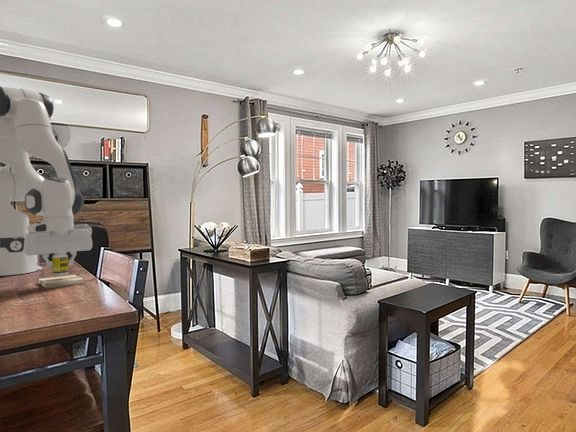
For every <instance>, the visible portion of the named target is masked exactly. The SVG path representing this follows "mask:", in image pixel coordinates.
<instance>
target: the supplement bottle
mask: <svg viewBox="0 0 576 432" xmlns="http://www.w3.org/2000/svg"><path fill="white" fill-rule="evenodd" d="M67 253H68V252H65V251H64V250H58V252H57V253H52V254H53V255H52V257H51V261H52V262H53V267H51V268H52V271H51V273H52V275H53V276H64V275H69V265H68V259H69V255H68V254H67Z"/></svg>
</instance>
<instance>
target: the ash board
mask: <svg viewBox="0 0 576 432" xmlns="http://www.w3.org/2000/svg"><path fill="white" fill-rule="evenodd" d="M37 280H38V281H37V282H38V284H39V285H40V286H42V287H44V288H45V289H46V290H47V289H54V288H61V287H67V286H74V285H75V286H77V285H82V284H81V283H83V284H85V281H84V280H85V279H84V278H82V277H80V276H78V275H76V274H74V273H73V274H72V273H71V274H64V275H55V276H50V277H42V278H38V279H37Z"/></svg>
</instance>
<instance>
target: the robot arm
mask: <svg viewBox="0 0 576 432" xmlns="http://www.w3.org/2000/svg"><path fill="white" fill-rule="evenodd" d="M54 109H55V107H54V102H53V100H52V99H51V97H50V96H49V95H47V94H45V93H42V92H36V91H33V90H28V89H23V88H16V87H7V86H0V163H2V164H3V165H6V166H8V167H10V168H11V173H9V172H8V173H6V172H5V173H2V172H0V276H15V275H22V274H28V273H29V274H30V273H34V272H36V271H41V270H43V267H42V266H41V265H40V266H39V265H38V257H37V256H39V255H42V259H44V261H45V262H46V267H47V268H52V267H53V262H52V260H51V261H50V260H49V257H50V254H53V253H57V252H58V250H64V251H65V252H67V253H70V255H71V256H70V258H68V266H72V265H74V260H75V258H76V256H77V255H78V254H77V252H83V251H91V250H92V248H93V240H92V239H93V238H92V234H93V229H92V226H90V225H88V224H87V223H84V224H83V223H82V224H74V223H75V222H74V216H76V215H77V214H78V213H80V212H81V211H82V209H83V208H84V206H85V205H84V204H85V199H84V196H83V194H82V192H81V190H80V188H79V186H78V184H77V180H76V177H75V174H74V172H73V168H72V166H71V163H70V160H69V157H68V154H67V152H66V150H65V148H64V147H62V146H61V145H60V144H59V143H58V141H57V140H56V138H55V136H54V134H53V129H52V123H51V120H50V119H51V118H52V117H53V114H54ZM29 155H31V156H33V157H36V158H38V159H41V160H42V161H45V162H47V163H48V164H50V165H51V166H52V167H53V168H54V170H55V173H56V176H57V177H55V176H53V177H46V178H44V177H43V176H42V175H41V174H39V173H38V172H37V170H35V168H34V167H33V165H32V163H31V160H30V157H29ZM12 202H24V206H25V209H26V210H27V211H28V212H29V213H30V214H31V215H33V216H34V215H35V216H42V217H43V218H42V219H43V220H42V221H37V222H35V223H33V224H30V218H29V217H28V215H27V214H26V213H24V212H23V211H20V210H18V209H15V208H13V206H12V204H11V203H12Z"/></svg>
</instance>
